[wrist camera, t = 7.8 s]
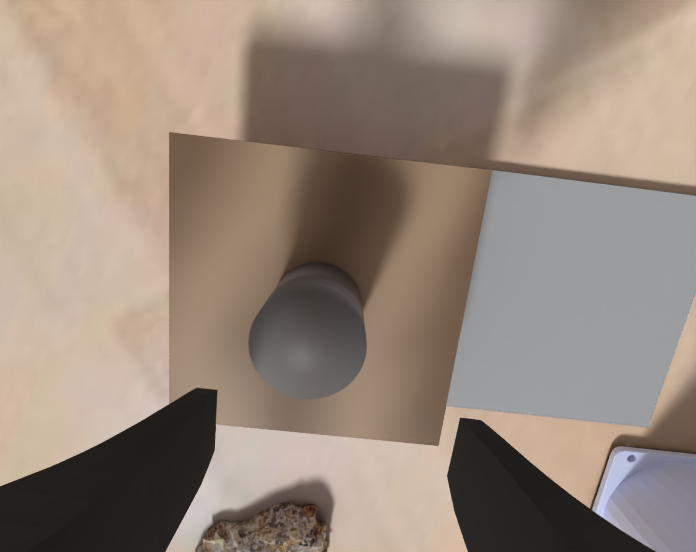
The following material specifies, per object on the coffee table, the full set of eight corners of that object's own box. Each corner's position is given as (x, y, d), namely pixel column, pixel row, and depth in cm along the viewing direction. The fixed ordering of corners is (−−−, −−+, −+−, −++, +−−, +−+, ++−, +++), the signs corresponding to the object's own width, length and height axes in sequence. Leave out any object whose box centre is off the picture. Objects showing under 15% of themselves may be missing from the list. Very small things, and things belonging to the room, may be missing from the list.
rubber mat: (720, 199, 19) (728, 199, 19) (642, 423, 22) (647, 427, 22) (468, 167, 19) (470, 167, 18) (424, 399, 22) (425, 403, 21)
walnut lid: (484, 171, 15) (547, 164, 10) (434, 434, 18) (465, 523, 13) (178, 135, 14) (99, 111, 10) (177, 409, 17) (114, 492, 13)
